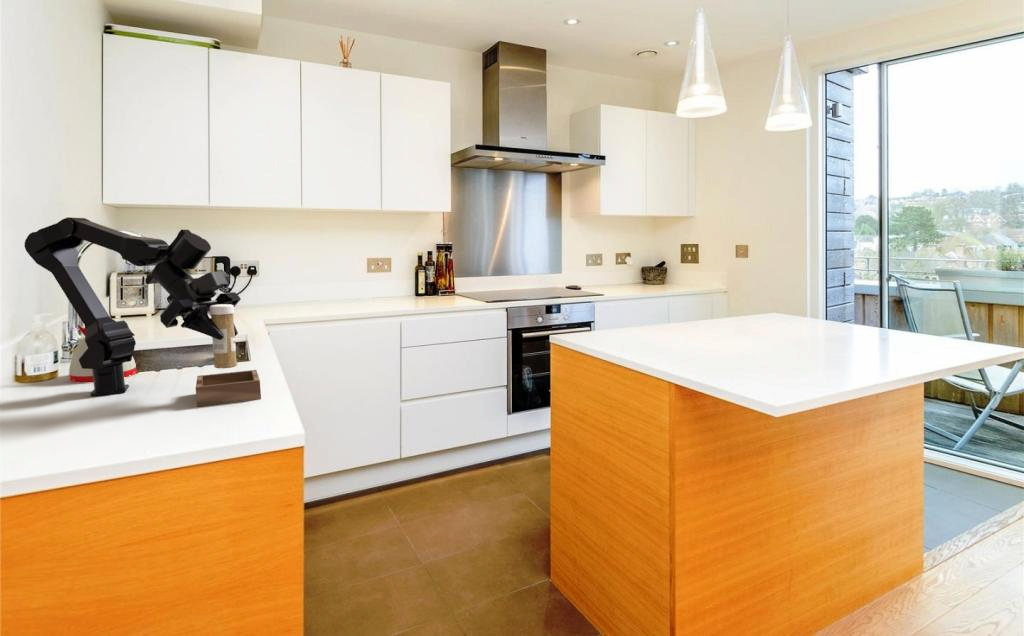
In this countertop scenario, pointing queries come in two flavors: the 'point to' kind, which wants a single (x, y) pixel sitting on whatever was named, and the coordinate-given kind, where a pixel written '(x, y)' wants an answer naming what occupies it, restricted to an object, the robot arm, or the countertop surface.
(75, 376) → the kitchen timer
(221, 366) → the sprinkles bottle
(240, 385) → the walnut crate
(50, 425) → the countertop surface
